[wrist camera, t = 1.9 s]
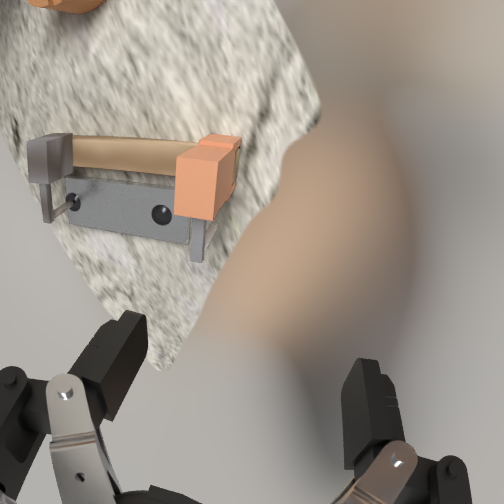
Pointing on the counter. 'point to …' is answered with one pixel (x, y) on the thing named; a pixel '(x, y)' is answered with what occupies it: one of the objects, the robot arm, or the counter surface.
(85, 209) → the strip
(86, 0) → the bracket
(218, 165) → the block
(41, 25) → the counter surface
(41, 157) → the trammel bar
